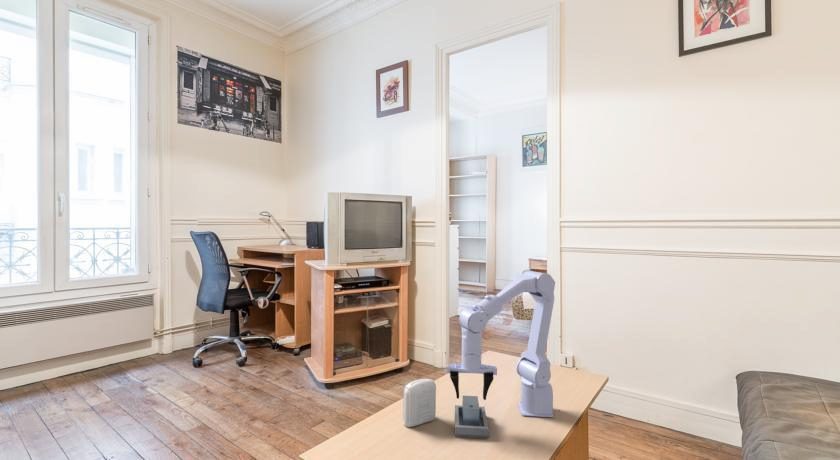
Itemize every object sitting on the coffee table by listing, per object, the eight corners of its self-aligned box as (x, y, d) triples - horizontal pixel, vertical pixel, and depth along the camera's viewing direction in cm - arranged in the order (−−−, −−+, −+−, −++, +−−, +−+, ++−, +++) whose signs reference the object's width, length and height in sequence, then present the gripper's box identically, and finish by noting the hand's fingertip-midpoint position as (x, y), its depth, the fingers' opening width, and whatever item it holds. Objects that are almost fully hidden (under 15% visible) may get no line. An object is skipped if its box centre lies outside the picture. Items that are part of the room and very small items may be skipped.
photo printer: (429, 413, 119) (430, 374, 119) (437, 419, 115) (438, 379, 115) (400, 423, 113) (401, 381, 113) (408, 429, 110) (409, 386, 109)
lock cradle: (484, 415, 118) (484, 406, 118) (488, 438, 106) (488, 428, 106) (454, 414, 119) (454, 405, 119) (455, 436, 106) (455, 426, 106)
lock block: (477, 415, 116) (477, 396, 116) (479, 430, 108) (479, 409, 108) (462, 415, 117) (462, 395, 117) (463, 429, 109) (463, 408, 109)
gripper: (495, 347, 115) (494, 392, 115) (446, 346, 116) (446, 390, 117) (498, 355, 108) (497, 403, 108) (446, 354, 109) (446, 401, 110)
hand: (471, 397), depth 112 cm, fingers open, 7 cm apart
